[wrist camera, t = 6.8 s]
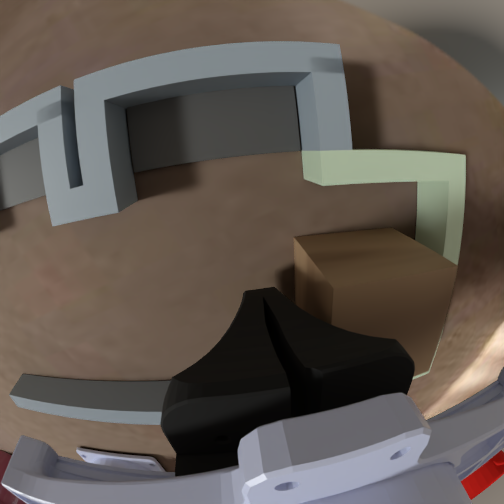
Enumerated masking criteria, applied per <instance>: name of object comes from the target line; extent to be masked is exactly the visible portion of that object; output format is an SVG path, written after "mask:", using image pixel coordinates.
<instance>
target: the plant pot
mask: <svg viewBox="0 0 504 504" xmlns="http://www.w3.org/2000/svg"><path fill="white" fill-rule="evenodd" d="M11 457H12V455H10V454H8V453H6V452H4V451H1V450H0V504H26V503H25V502H23V501H22V500H21V499H19V498H18V497H17V496H15V495H14V494H13V493H11V492H10V491H9V490H7V489H6V488H5V487H4V486H2V484H1V481H2V479H3V476H4V474H5V471H6V469H7V466H8V464H9V461H10V459H11Z"/></svg>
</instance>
